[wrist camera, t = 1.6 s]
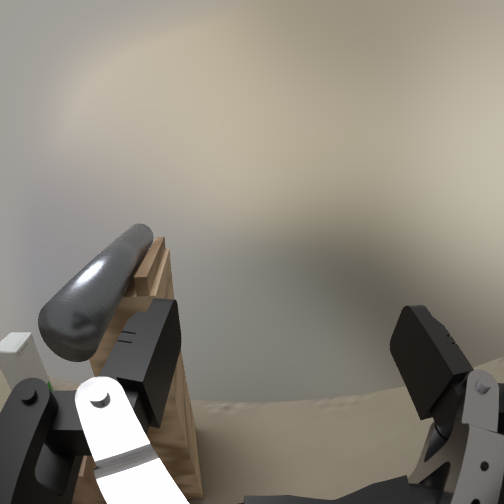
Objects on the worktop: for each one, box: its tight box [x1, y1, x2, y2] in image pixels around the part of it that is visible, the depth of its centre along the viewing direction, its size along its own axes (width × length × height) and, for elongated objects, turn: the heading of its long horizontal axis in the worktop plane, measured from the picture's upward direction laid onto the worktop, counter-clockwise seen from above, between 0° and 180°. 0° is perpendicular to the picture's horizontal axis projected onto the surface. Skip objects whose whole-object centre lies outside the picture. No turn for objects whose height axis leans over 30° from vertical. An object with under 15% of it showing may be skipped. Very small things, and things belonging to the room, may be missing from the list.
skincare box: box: [0, 332, 54, 391], centre depth 39 cm, size 8×7×16 cm
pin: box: [38, 224, 153, 362], centre depth 22 cm, size 3×23×3 cm, turn 12°
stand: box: [89, 237, 204, 499], centre depth 31 cm, size 7×15×34 cm, turn 12°
